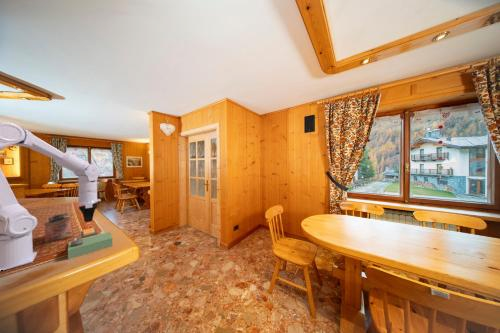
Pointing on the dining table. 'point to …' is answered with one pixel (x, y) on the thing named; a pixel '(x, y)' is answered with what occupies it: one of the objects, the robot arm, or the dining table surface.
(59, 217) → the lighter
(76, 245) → the deck
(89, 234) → the grey box orange face
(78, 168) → the robot arm
